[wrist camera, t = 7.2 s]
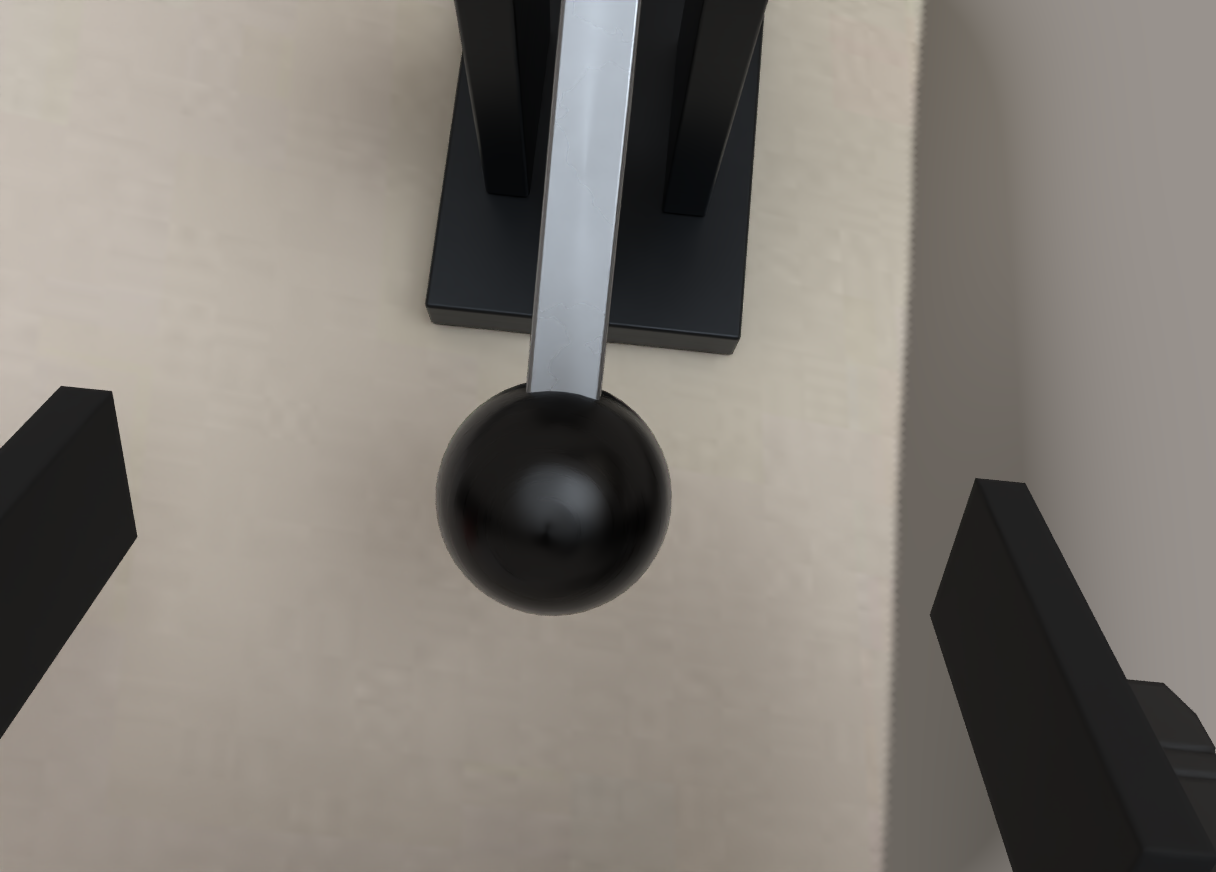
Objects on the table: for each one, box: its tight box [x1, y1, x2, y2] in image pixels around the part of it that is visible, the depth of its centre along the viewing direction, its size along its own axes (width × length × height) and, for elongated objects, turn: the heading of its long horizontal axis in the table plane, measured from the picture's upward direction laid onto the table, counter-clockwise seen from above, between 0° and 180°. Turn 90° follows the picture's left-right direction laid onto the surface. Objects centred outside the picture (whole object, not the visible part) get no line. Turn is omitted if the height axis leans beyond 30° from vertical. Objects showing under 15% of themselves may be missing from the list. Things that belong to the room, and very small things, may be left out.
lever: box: [436, 0, 672, 616], centre depth 15 cm, size 14×4×4 cm, turn 174°
